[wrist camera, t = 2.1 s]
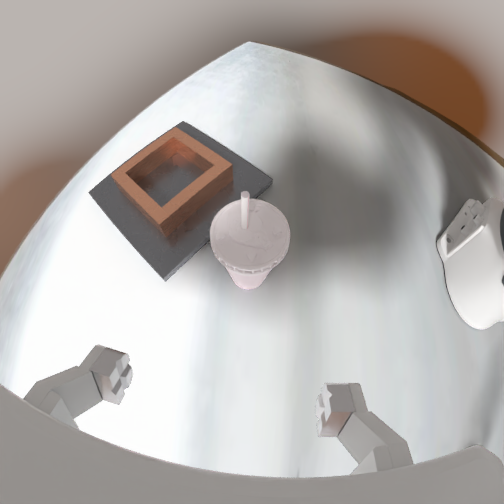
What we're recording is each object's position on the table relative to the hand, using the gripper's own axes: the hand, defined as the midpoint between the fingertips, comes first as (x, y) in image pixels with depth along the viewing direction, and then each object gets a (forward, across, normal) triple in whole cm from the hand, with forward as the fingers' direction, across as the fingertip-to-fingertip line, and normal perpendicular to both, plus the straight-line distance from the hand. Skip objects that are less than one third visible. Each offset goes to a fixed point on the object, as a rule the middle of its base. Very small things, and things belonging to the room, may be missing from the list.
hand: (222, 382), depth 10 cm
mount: (+27, +11, -3) cm, 29 cm away
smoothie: (+20, 0, +5) cm, 21 cm away
